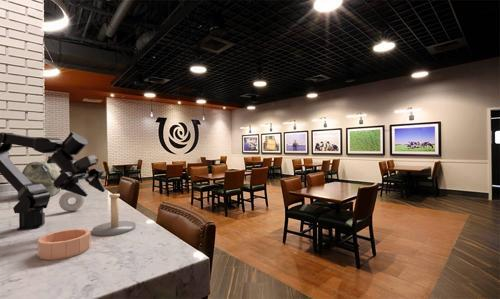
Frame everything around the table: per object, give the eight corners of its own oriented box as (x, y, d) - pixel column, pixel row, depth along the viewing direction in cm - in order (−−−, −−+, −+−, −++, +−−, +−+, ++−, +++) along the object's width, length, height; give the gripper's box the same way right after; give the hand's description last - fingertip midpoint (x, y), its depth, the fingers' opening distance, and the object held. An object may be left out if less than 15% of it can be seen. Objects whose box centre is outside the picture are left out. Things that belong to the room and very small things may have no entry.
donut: (59, 213, 114) (59, 192, 114) (58, 212, 117) (58, 191, 117) (85, 210, 121) (85, 189, 121) (83, 208, 124) (83, 188, 124)
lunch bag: (53, 197, 152) (53, 161, 152) (14, 200, 145) (14, 162, 144) (64, 190, 176) (63, 159, 176) (31, 192, 168) (30, 160, 168)
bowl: (33, 252, 72) (33, 236, 72) (81, 240, 82) (80, 226, 81) (46, 264, 65) (45, 246, 65) (96, 249, 74) (96, 234, 74)
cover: (88, 238, 83) (88, 199, 83) (96, 226, 96) (96, 192, 96) (134, 233, 89) (134, 196, 89) (136, 222, 102) (136, 190, 101)
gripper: (60, 148, 84) (92, 181, 83) (99, 148, 103) (125, 175, 102) (39, 171, 85) (70, 205, 84) (81, 167, 103) (106, 194, 103)
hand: (95, 193), depth 93 cm, fingers open, 9 cm apart
